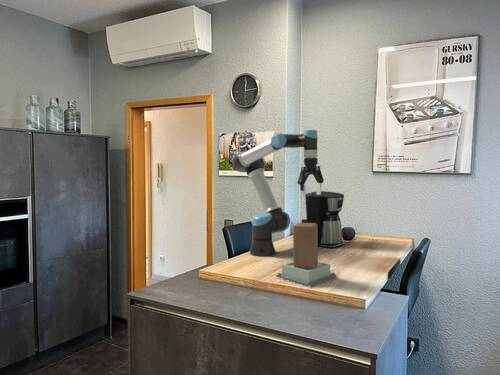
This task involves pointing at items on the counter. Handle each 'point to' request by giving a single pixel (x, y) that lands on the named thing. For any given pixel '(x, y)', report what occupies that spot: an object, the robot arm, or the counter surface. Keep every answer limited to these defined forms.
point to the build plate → (306, 274)
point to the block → (305, 245)
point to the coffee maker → (326, 217)
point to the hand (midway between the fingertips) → (311, 195)
